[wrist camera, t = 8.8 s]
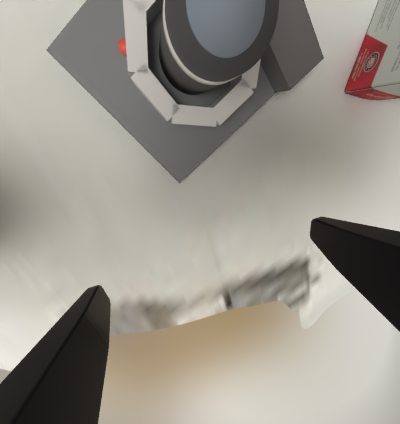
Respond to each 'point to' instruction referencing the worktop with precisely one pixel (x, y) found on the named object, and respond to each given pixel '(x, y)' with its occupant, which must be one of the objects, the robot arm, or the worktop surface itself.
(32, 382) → the robot arm
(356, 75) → the ink box
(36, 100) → the worktop surface
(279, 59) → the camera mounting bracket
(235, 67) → the lens
